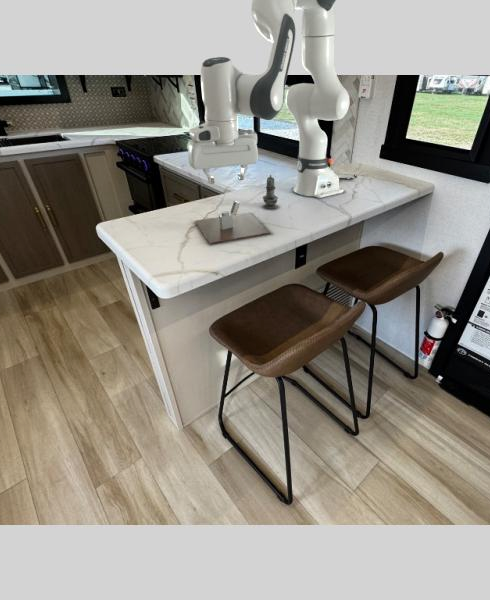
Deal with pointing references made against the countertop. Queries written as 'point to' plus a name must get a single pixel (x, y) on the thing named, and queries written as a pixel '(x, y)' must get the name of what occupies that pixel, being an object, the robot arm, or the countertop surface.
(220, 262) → the countertop surface
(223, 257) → the countertop surface
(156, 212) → the countertop surface
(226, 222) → the lighter
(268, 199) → the tarnished pewter finial
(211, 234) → the walnut board
